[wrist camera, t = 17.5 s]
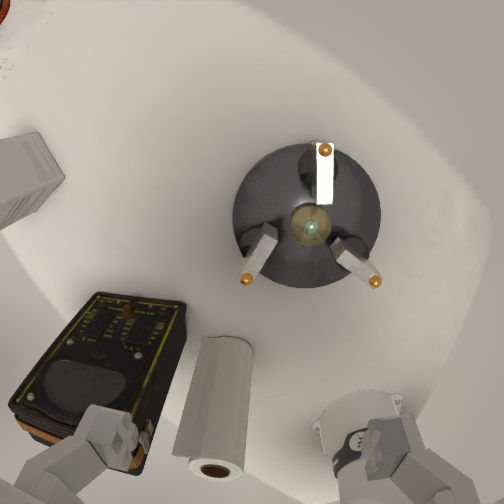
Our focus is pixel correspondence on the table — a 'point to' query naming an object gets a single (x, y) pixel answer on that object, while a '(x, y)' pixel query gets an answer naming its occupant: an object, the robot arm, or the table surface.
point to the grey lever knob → (319, 171)
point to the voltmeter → (105, 369)
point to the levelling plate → (285, 195)
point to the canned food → (4, 9)
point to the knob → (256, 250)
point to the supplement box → (25, 176)
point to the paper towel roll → (217, 410)
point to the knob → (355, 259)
